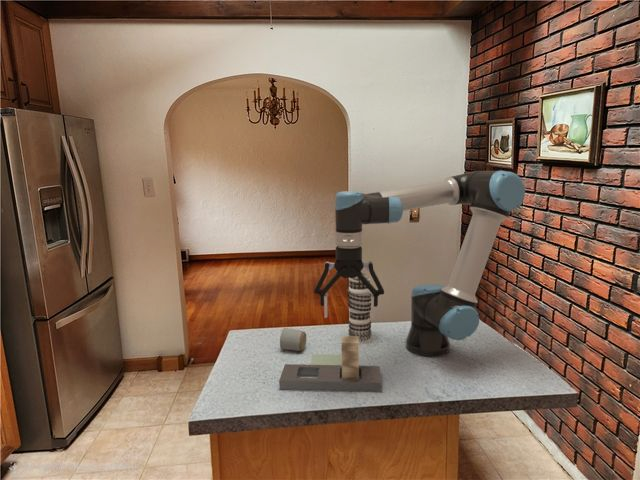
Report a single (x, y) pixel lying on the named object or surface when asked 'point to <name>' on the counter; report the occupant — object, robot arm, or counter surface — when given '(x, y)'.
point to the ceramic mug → (292, 339)
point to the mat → (326, 359)
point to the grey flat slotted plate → (329, 378)
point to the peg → (350, 357)
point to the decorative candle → (359, 309)
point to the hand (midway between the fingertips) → (349, 316)
